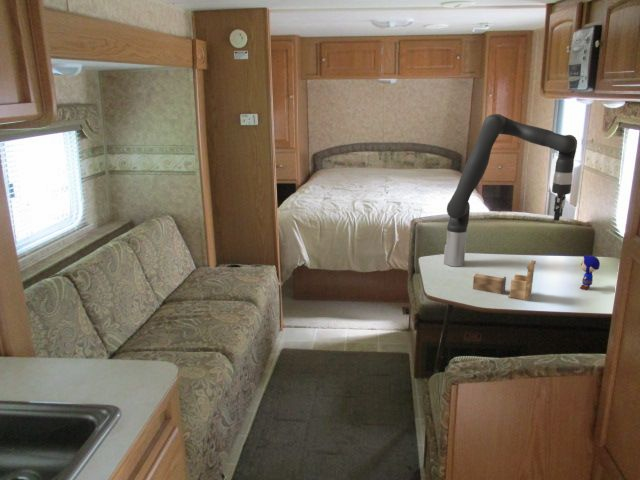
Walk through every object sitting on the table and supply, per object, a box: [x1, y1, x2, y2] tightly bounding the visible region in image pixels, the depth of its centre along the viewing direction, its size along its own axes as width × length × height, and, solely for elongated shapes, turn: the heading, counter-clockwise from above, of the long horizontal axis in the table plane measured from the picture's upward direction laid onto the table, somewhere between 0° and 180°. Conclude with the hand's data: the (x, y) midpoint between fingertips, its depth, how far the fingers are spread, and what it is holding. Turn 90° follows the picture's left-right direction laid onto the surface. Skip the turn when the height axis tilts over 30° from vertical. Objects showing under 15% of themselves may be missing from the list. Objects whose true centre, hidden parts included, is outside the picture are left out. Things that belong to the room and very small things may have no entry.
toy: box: [579, 254, 601, 291], centre depth 236 cm, size 13×8×15 cm, turn 142°
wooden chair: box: [507, 259, 537, 302], centre depth 228 cm, size 8×9×15 cm
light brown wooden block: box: [472, 273, 507, 295], centre depth 236 cm, size 13×4×7 cm, turn 60°
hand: (557, 218), depth 241 cm, fingers open, 8 cm apart
